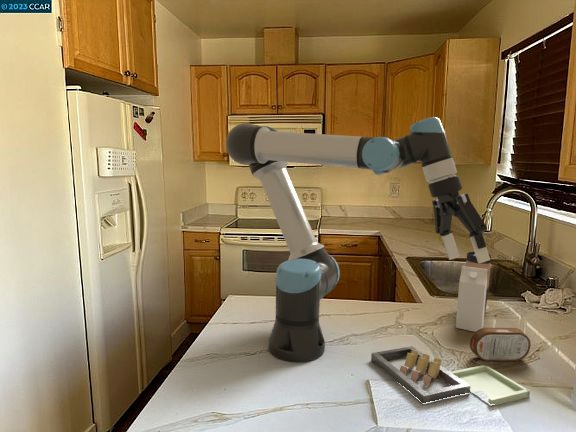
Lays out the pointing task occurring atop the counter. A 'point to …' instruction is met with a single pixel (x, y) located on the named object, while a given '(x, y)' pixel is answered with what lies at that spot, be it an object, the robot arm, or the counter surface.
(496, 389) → the tray pad
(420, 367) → the ammunition
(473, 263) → the travel mug
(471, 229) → the robot arm
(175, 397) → the counter surface
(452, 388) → the gray rectangular frame
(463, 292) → the milk carton
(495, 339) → the tin
